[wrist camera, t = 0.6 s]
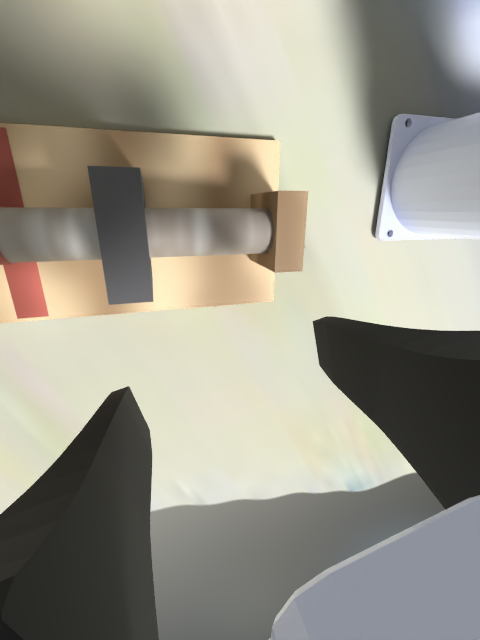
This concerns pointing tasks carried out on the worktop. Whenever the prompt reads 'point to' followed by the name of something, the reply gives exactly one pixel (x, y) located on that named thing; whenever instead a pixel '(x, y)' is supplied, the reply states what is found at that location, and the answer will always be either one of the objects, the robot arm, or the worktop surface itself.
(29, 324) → the worktop surface
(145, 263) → the collar
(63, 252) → the pipe rig
